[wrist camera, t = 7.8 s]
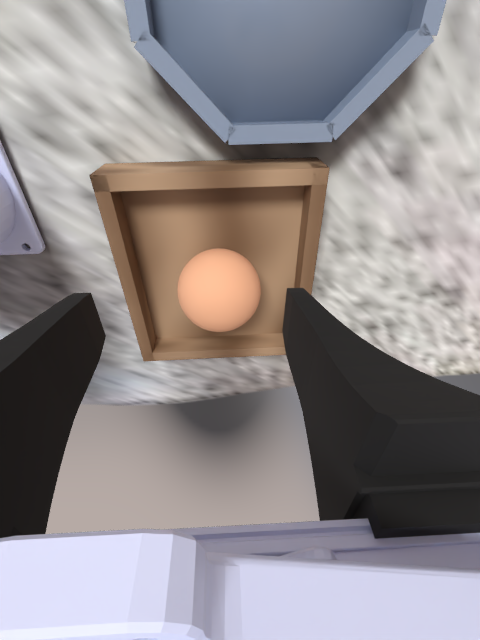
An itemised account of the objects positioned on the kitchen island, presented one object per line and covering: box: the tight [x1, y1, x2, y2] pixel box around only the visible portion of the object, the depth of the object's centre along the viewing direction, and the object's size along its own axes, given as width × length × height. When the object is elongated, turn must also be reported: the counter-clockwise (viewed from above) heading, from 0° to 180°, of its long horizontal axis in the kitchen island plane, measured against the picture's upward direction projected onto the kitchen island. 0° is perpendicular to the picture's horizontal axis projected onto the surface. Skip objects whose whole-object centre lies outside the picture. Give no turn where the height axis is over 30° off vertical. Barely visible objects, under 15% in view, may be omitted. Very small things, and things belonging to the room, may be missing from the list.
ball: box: [177, 248, 261, 332], centre depth 19 cm, size 5×5×5 cm
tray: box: [90, 158, 329, 361], centre depth 21 cm, size 12×13×3 cm
